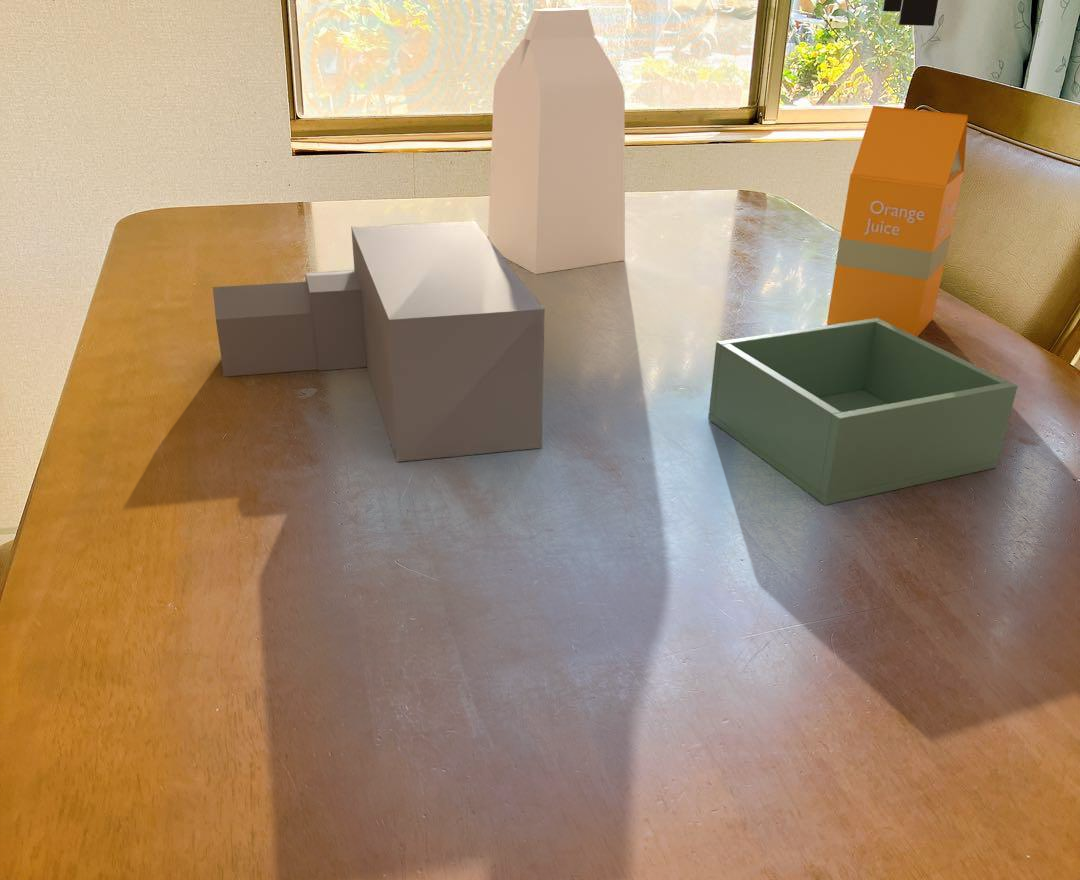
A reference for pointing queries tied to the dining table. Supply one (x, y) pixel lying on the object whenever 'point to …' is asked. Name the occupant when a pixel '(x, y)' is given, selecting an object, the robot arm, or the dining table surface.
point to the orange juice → (899, 218)
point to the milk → (558, 149)
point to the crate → (858, 408)
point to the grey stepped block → (408, 336)
